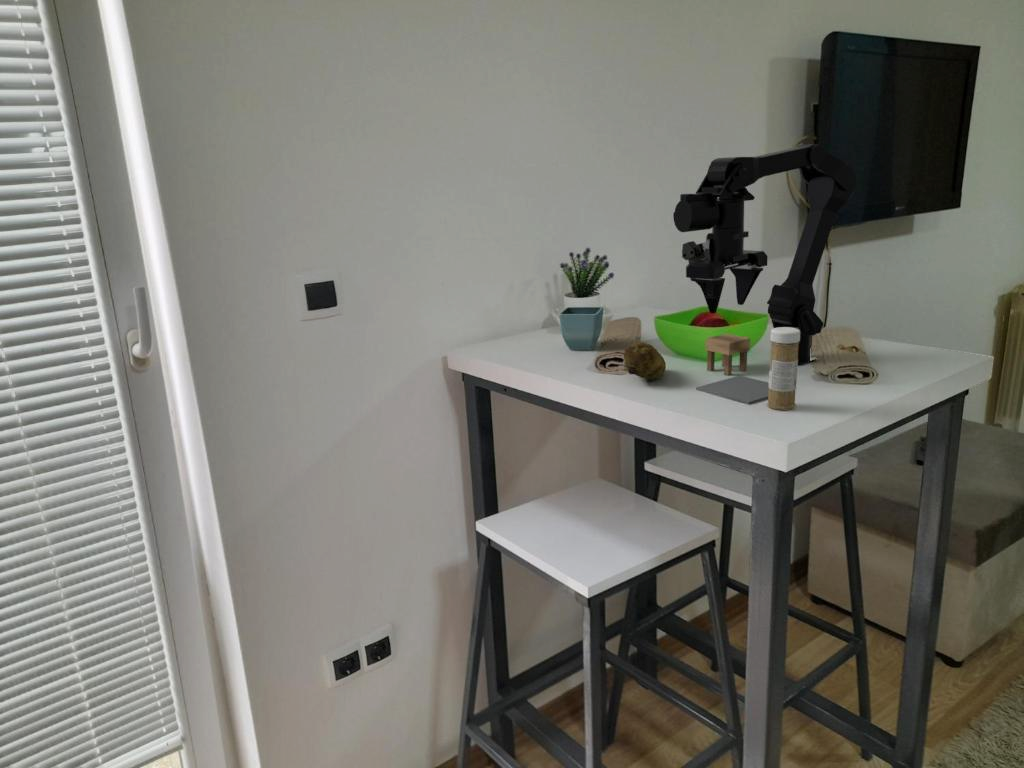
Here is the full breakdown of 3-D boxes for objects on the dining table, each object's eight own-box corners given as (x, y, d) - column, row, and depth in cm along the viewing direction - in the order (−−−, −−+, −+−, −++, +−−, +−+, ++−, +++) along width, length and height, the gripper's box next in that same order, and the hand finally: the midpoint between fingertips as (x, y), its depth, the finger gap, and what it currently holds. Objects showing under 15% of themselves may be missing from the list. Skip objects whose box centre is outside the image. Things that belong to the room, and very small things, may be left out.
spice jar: (774, 401, 128) (778, 325, 124) (800, 406, 125) (805, 328, 121) (762, 408, 125) (766, 330, 121) (788, 413, 122) (793, 333, 118)
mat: (739, 377, 143) (739, 375, 143) (792, 390, 133) (793, 388, 133) (696, 389, 136) (696, 387, 136) (748, 404, 127) (748, 402, 127)
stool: (725, 364, 152) (726, 333, 150) (748, 370, 147) (750, 338, 145) (704, 370, 149) (705, 338, 147) (728, 376, 144) (729, 343, 142)
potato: (682, 375, 146) (683, 335, 144) (646, 390, 137) (646, 349, 135) (647, 369, 152) (647, 331, 149) (609, 383, 143) (609, 343, 140)
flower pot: (559, 352, 169) (558, 313, 166) (567, 343, 177) (566, 306, 174) (597, 353, 166) (596, 314, 164) (604, 344, 174) (603, 306, 172)
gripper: (720, 221, 150) (719, 297, 155) (662, 231, 139) (663, 313, 143) (770, 221, 142) (767, 302, 146) (712, 233, 131) (711, 319, 135)
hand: (726, 308), depth 143 cm, fingers open, 9 cm apart
